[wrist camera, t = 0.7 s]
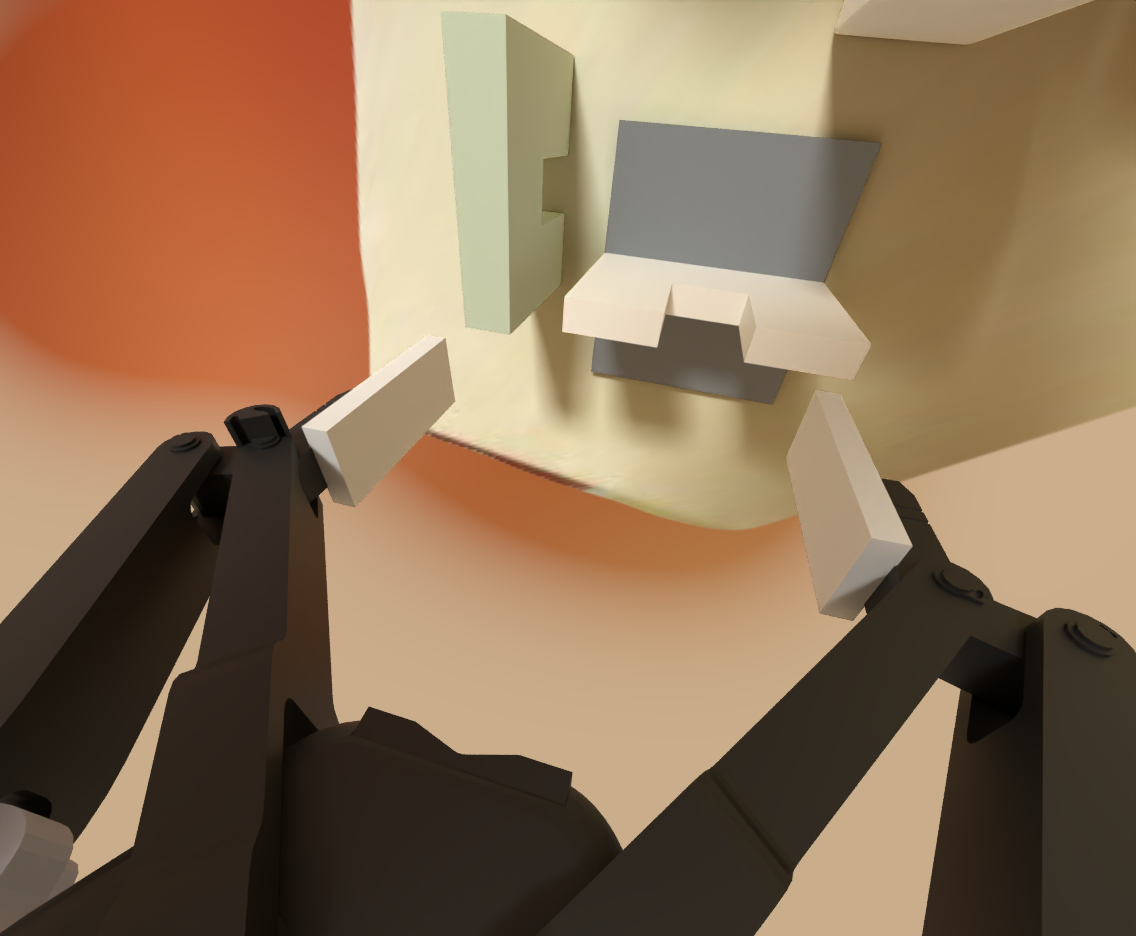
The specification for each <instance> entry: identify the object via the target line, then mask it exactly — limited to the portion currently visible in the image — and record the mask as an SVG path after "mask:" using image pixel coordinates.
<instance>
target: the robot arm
mask: <svg viewBox="0 0 1136 936" xmlns="http://www.w3.org/2000/svg"><path fill="white" fill-rule="evenodd" d="M454 402H455V398H454V392H453V385H452V378H451V372H450V365H449V359H448V352H447V346H446V339H445V338H443V337H436V336H429V335H427V336H425V337H424V338H422V339H421V340H420V341H418V342H417V343H416V344H414V345H413V346H412V347H410V348H409V349H407V350H406V351H405V352H403V353H402V354H401V355H399V356H398V357H396V358H395V359H394V360H392V361H391V362H390V363H388V364H387V365H385V366H384V367H383V368H381V369H380V370H379V371H377V372H376V373H374V374H373V375H372V376H370V377H369V378H368V379H366V380H365V381H364V382H362V383H361V384H359V385H358V386H357V387H355V388H354V389H351V390H349V391H346V392H344V393H342V394H339V395H337V396H335V397H334V398H333V399H331V400H330V401H328V402H327V403H326V405H323V406H322V407H320V408H319V409H317V412H316V411H314V412H313V413H312V414H310V415H309V416H307V417H306V418H305V419H303V420H302V421H300V422H299V423H298V424H296V425H295V426H293V427H292V428H291V429H288V426H287V424H286V422H285V420H284V418H283V415H282V413H281V411H280V409H279V408H278V407H276V406H274V405H265V404H264V405H254V406H250V407H246V408H243V409H241V410H238V411H236V412H234V413H232V414H231V415H229V416H228V417H227V418H226V420H225V421H224V424H225V425H226V427H227V429H228V431H229V433H230V434H231V436H232V438H233V440H234V442H235V443H236V445H237V446H224V447H219V445H218V444H217V442H216V440H215V439H214V437H213V435H212V434H211V433H208V432H190V433H183V434H181V435H176V436H174V437H173V438H171V439H169V440H167V441H165V442H164V443H162V444H161V445H160V446H159V447H157V449H156V450H155V451H154V452H153V453H152V454H151V455H150V456H149V458H148V459H147V460H146V461H145V462H144V463H143V464H142V465H141V467H140V468H139V469H138V470H137V471H136V472H135V473H134V474H133V476H132V477H131V478H130V479H129V480H128V481H127V482H126V483H125V484H124V486H123V487H122V488H121V489H120V490H119V491H118V492H117V493H116V495H115V496H114V497H113V498H112V499H111V500H110V501H109V503H108V504H107V505H106V506H105V507H104V508H103V509H102V510H101V511H100V513H99V514H98V515H97V516H96V517H95V518H94V519H93V520H92V521H91V523H90V524H89V525H88V526H87V527H86V528H85V529H84V531H83V532H82V533H81V534H80V535H79V536H78V537H77V538H76V540H75V541H74V542H73V543H72V544H71V545H70V546H69V547H68V548H67V550H66V551H65V552H64V553H63V554H62V555H61V556H60V557H59V559H58V560H57V561H56V562H55V563H54V564H53V565H52V566H51V568H50V569H49V570H48V571H47V572H46V573H45V574H44V575H43V576H42V578H41V579H40V580H39V581H38V582H37V583H36V584H35V585H34V587H33V588H32V589H31V590H30V591H29V592H28V593H27V594H26V596H25V597H24V598H23V599H22V600H21V601H20V602H19V603H18V605H17V606H16V607H15V608H14V609H13V610H12V611H11V612H10V614H9V615H8V616H7V617H6V618H5V619H4V620H3V621H2V623H1V624H0V936H754V935H755V934H756V932H757V931H758V930H759V928H760V927H761V925H762V924H763V923H764V921H765V920H766V919H767V917H768V916H769V915H770V913H771V912H772V911H773V909H774V908H775V907H776V905H777V904H778V902H779V901H780V899H781V898H782V897H783V895H784V894H785V892H786V891H787V889H788V887H789V885H790V883H791V881H792V877H793V871H794V869H795V867H796V866H797V864H798V863H799V861H800V860H801V859H802V857H803V856H804V854H805V853H806V852H807V851H808V849H809V848H810V847H811V845H812V844H813V843H814V841H815V840H816V839H817V837H818V836H819V835H820V833H821V832H822V831H823V830H824V828H825V827H826V825H827V824H828V823H829V821H830V820H831V819H832V818H833V816H834V815H835V814H836V812H837V811H838V809H839V808H840V807H841V806H842V804H843V803H844V802H845V800H846V799H847V798H848V796H849V795H850V794H851V792H852V791H853V790H854V789H855V787H856V786H857V785H858V783H859V782H860V781H861V779H862V778H863V777H864V775H865V774H866V773H867V771H868V770H869V769H870V767H871V766H872V765H873V763H874V762H875V761H876V759H877V758H878V757H879V755H880V754H881V753H882V751H883V750H884V749H885V748H886V746H887V745H888V744H889V742H890V741H891V740H892V738H893V737H894V736H895V734H896V733H897V732H898V730H899V729H900V728H901V726H902V725H903V724H904V722H905V721H906V720H907V718H908V717H909V716H910V715H911V713H912V712H913V710H914V709H915V708H916V706H917V705H918V704H919V703H920V701H921V700H922V699H923V697H924V696H925V695H926V693H927V692H928V691H929V689H930V688H931V687H932V685H933V684H934V683H935V681H936V680H937V679H938V678H940V679H942V680H944V681H946V682H948V683H950V684H952V685H954V686H956V687H958V688H960V689H961V691H960V697H959V703H958V709H957V716H956V722H955V728H954V735H953V741H952V748H951V754H950V760H949V767H948V773H947V780H946V786H945V792H944V799H943V806H942V811H941V818H940V824H939V831H938V837H937V844H936V850H935V856H934V863H933V869H932V876H931V882H930V888H929V895H928V901H927V908H926V914H925V920H924V926H923V927H924V928H923V933H922V936H1136V653H1135V651H1134V649H1133V648H1132V647H1131V646H1130V645H1129V644H1128V643H1127V642H1126V641H1125V640H1124V639H1123V638H1122V637H1121V636H1120V635H1119V634H1117V633H1116V632H1115V631H1114V630H1112V629H1111V628H1109V627H1108V626H1106V625H1105V624H1103V623H1101V622H1099V621H1097V620H1095V619H1093V618H1092V617H1090V616H1088V615H1085V614H1082V613H1079V612H1076V611H1074V610H1070V609H1063V608H1054V609H1051V610H1048V611H1046V612H1045V613H1043V614H1042V615H1041V616H1040V617H1038V618H1035V617H1032V616H1030V615H1027V614H1025V613H1022V612H1020V611H1018V610H1015V609H1013V608H1010V607H1008V606H1005V605H1003V604H1000V603H998V602H996V601H994V600H993V597H992V595H991V593H990V591H989V589H988V588H987V587H986V586H985V585H984V584H983V582H982V581H981V580H980V579H979V578H977V577H976V576H975V575H973V574H972V573H970V572H969V571H968V570H966V569H964V568H962V567H960V566H958V565H955V564H954V563H951V562H950V561H949V559H948V557H947V555H946V553H945V551H944V550H943V548H942V546H941V544H940V542H939V540H938V539H937V537H936V535H935V533H934V531H933V529H932V527H931V526H930V524H928V520H927V518H926V516H925V514H924V513H923V512H921V511H922V509H921V507H920V506H919V503H918V501H917V500H916V498H915V496H914V495H913V494H912V493H911V492H910V491H909V490H908V489H907V488H905V487H904V486H903V485H902V484H901V483H900V482H899V481H893V480H887V479H881V478H880V476H879V473H878V471H877V469H876V467H875V465H874V463H873V461H872V459H871V456H870V454H869V452H868V450H867V448H866V446H865V444H864V442H863V439H862V437H861V435H860V433H859V431H858V429H857V427H856V425H855V422H854V420H853V418H852V416H851V414H850V412H849V410H848V408H847V406H846V403H845V401H844V399H843V397H842V395H841V394H840V393H833V392H826V391H819V390H815V392H814V394H813V397H812V399H811V401H810V403H809V406H808V408H807V410H806V413H805V415H804V417H803V420H802V422H801V424H800V426H799V429H798V431H797V433H796V436H795V438H794V440H793V442H792V445H791V447H790V449H789V452H788V454H787V456H786V460H787V465H788V470H789V474H790V479H791V483H792V488H793V493H794V497H795V502H796V507H797V511H798V516H799V520H800V525H801V530H802V534H803V539H804V544H805V548H806V553H807V558H808V562H809V567H810V572H811V576H812V581H813V586H814V590H815V595H816V600H817V604H818V609H819V613H821V614H825V615H829V616H833V617H838V618H842V619H847V620H851V621H853V620H854V619H855V618H856V616H857V615H858V614H859V613H860V612H861V610H862V609H863V608H864V606H865V610H866V613H867V615H866V616H865V617H864V618H863V619H862V620H861V621H860V622H859V623H858V624H857V625H856V626H855V627H854V628H853V629H852V630H851V631H850V632H849V633H848V634H847V635H846V636H845V637H844V638H843V639H842V640H841V641H840V642H839V643H838V644H837V645H836V646H835V647H834V648H833V649H832V650H830V652H828V653H827V654H826V655H825V656H824V657H823V658H822V659H821V660H820V661H819V662H818V663H817V664H816V665H815V666H814V667H813V668H812V669H811V670H810V671H809V672H808V673H807V674H806V675H805V676H804V677H803V678H802V679H801V680H800V681H799V682H798V683H797V684H796V685H795V686H794V687H793V688H792V689H791V690H790V691H789V692H788V693H787V694H786V695H785V696H784V697H783V698H782V699H781V700H780V701H779V702H778V703H777V704H776V705H775V706H774V707H773V708H772V709H771V710H770V711H769V712H768V713H767V714H766V715H765V716H764V717H763V718H762V719H761V720H760V721H759V722H758V723H757V724H756V725H754V726H753V727H752V728H751V729H750V730H749V732H747V733H746V735H744V737H742V738H741V739H740V740H739V741H738V742H737V743H736V744H735V745H734V746H733V747H732V748H731V749H730V750H729V751H728V752H727V753H726V754H725V755H724V756H723V757H722V758H721V759H720V760H719V761H718V762H717V763H716V764H715V765H714V766H713V767H711V768H710V769H708V770H706V771H705V772H704V773H702V774H701V775H700V776H699V777H698V778H697V779H695V780H694V781H693V782H692V783H691V784H690V785H689V786H688V787H687V788H686V789H685V790H684V791H683V792H682V793H681V794H680V795H679V796H678V797H677V798H676V799H675V800H674V801H673V802H672V803H671V804H670V805H669V806H668V807H667V808H666V809H665V810H664V811H663V812H662V813H661V814H659V815H658V817H656V818H655V819H654V820H653V821H652V822H651V823H650V824H649V825H648V826H647V827H646V828H645V829H644V830H643V831H642V832H641V833H640V834H639V835H638V836H637V837H636V838H635V839H634V840H633V841H632V842H631V843H630V844H629V845H628V846H627V847H626V848H625V849H624V850H623V849H622V847H621V846H620V843H619V841H618V839H617V837H616V836H615V834H614V832H613V830H612V829H611V827H610V826H609V824H608V823H607V821H606V820H605V818H604V817H603V816H602V814H601V813H600V812H599V811H598V810H597V808H596V807H595V806H594V805H593V804H592V803H591V802H590V801H589V800H588V799H587V798H586V797H585V796H583V795H582V794H581V793H580V792H578V791H577V790H576V789H574V788H573V787H571V781H572V772H570V771H567V770H564V769H561V768H558V767H554V766H551V765H548V764H545V763H542V762H539V761H536V760H533V759H530V758H526V757H523V756H520V755H465V754H459V753H457V752H455V751H454V750H452V749H451V748H450V747H448V746H447V745H446V744H444V743H443V742H442V741H440V740H439V739H438V738H436V737H435V736H434V735H432V734H431V733H430V732H428V731H427V730H426V729H424V728H423V727H422V726H420V725H419V724H418V723H416V722H415V721H412V720H408V719H405V718H403V717H399V716H396V715H393V714H390V713H387V712H384V711H381V710H378V709H375V708H372V707H368V709H367V710H366V712H365V714H364V715H363V717H362V719H361V720H360V721H353V722H345V723H341V724H339V722H338V719H337V717H336V713H335V710H334V705H333V695H332V676H331V658H330V639H329V620H328V600H327V581H326V562H325V542H324V524H323V505H322V502H321V500H320V498H319V495H320V493H322V492H323V491H324V490H325V489H326V488H328V490H329V493H330V495H331V497H332V500H333V502H335V503H340V504H343V505H348V506H352V507H356V506H357V505H358V504H359V503H360V502H361V501H362V500H363V499H364V498H365V496H366V495H367V494H368V493H369V492H370V491H371V490H372V489H373V488H374V487H375V486H376V485H377V484H378V483H379V482H380V480H381V479H382V478H383V477H384V476H385V475H386V474H387V473H388V472H389V471H390V470H391V469H392V468H393V467H394V466H395V465H396V464H397V462H398V461H399V460H400V459H401V458H402V457H403V456H404V455H405V454H406V453H407V452H408V451H409V450H410V449H411V448H412V446H413V445H414V444H415V443H416V442H417V441H418V440H419V439H420V438H421V437H422V436H423V435H424V434H425V433H426V432H427V431H428V430H429V428H430V427H431V426H432V425H433V424H434V423H435V422H436V421H437V420H438V419H439V418H440V417H441V416H442V415H443V414H444V413H445V411H446V410H447V409H448V408H449V407H450V406H451V405H452V404H453V403H454ZM191 505H192V507H193V508H194V511H193V512H192V513H191ZM209 596H210V598H209ZM208 598H209V603H208V609H207V613H206V619H205V625H204V630H203V635H202V640H201V645H200V650H199V656H198V661H197V664H196V667H195V668H194V669H193V670H190V671H187V672H185V673H181V674H179V676H178V677H177V678H176V679H175V680H174V681H173V683H172V686H171V689H170V691H169V694H168V699H167V703H166V708H165V712H164V717H163V721H162V725H161V729H160V734H159V738H158V743H157V747H156V752H155V756H154V760H153V765H152V769H151V774H150V778H149V782H148V787H147V791H146V795H145V800H144V804H143V808H142V813H141V817H140V822H139V826H138V831H137V835H136V839H135V843H134V846H133V847H131V848H130V849H128V850H127V851H125V852H124V853H122V854H120V855H119V856H117V857H116V858H114V859H113V860H111V861H110V862H108V863H106V864H105V865H103V866H102V867H100V868H99V869H97V870H95V871H94V872H92V873H91V874H89V875H88V876H86V877H85V878H83V879H81V880H80V881H78V882H77V883H75V884H74V882H75V880H76V877H77V875H78V864H77V863H75V862H74V861H72V860H70V856H71V853H72V850H73V844H74V842H75V841H76V840H77V838H78V837H79V836H80V834H81V833H82V832H83V830H84V829H85V827H86V826H87V824H88V823H89V821H90V820H91V818H92V817H93V815H94V814H95V812H96V811H97V809H98V808H99V806H100V805H101V803H102V801H103V800H104V799H105V797H106V796H107V794H108V792H109V790H110V788H111V787H112V785H113V783H114V781H115V780H116V778H117V776H118V774H119V772H120V771H121V769H122V767H123V765H124V764H125V762H126V760H127V758H128V756H129V753H130V752H131V750H132V748H133V746H134V744H135V742H136V740H137V738H138V736H139V734H140V732H141V730H142V728H143V726H144V724H145V722H146V720H147V718H148V716H149V715H150V712H151V711H152V709H153V706H154V705H155V703H156V701H157V699H158V696H159V695H160V693H161V691H162V689H163V687H164V685H165V683H166V681H167V679H168V677H169V675H170V673H171V671H172V669H173V667H174V665H175V663H176V661H177V659H178V657H179V655H180V653H181V651H182V649H183V647H184V646H185V644H186V642H187V639H188V637H189V636H190V634H191V632H192V629H193V628H194V626H195V624H196V622H197V620H198V618H199V616H200V614H201V612H202V610H203V608H204V606H205V604H206V602H207V600H208Z"/></svg>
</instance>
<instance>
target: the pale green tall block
mask: <svg viewBox="0 0 1136 936" xmlns="http://www.w3.org/2000/svg"><path fill="white" fill-rule="evenodd" d="M441 20H442V33H443V46H444V59H445V72H446V84H447V97H448V110H449V123H450V136H451V149H452V161H453V174H454V187H455V200H456V213H457V225H458V238H459V251H460V264H461V277H462V290H463V302H464V315H465V327H468V328H473V329H479V330H485V331H491V332H497V333H502V334H508V335H510V334H511V333H512V332H513V331H514V330H515V329H516V328H517V327H518V326H519V325H520V324H521V323H522V322H523V321H524V320H525V319H526V318H527V317H528V316H529V315H530V314H531V313H532V312H534V311H535V310H536V309H537V308H538V307H539V306H540V305H541V304H542V303H543V302H544V301H545V300H546V299H547V298H548V297H549V296H550V295H551V294H552V293H553V292H554V291H555V290H556V289H557V288H558V287H559V286H560V285H561V272H562V255H563V238H564V221H565V213H557V212H549V211H542V187H543V159H546V158H554V157H561V156H568V152H569V134H570V117H571V100H572V82H573V65H574V55H573V54H571V53H569V52H568V51H566V50H564V49H563V48H561V47H559V46H558V45H556V44H554V43H553V42H551V41H549V40H548V39H546V38H544V37H543V36H541V35H539V34H538V33H536V32H534V31H533V30H531V29H529V28H528V27H526V26H524V25H523V24H521V23H519V22H518V21H516V20H514V19H513V18H511V17H509V16H508V15H506V14H489V13H470V12H450V11H441Z"/></svg>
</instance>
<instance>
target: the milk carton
mask: <svg viewBox="0 0 1136 936" xmlns="http://www.w3.org/2000/svg"><path fill="white" fill-rule="evenodd" d="M1091 1H1094V0H844V3H843V6H842V9H841V12H840V15H839V18H838V21H837V24H836V27H835V31H834V32H835V33H837V34H842V35H852V36H864V37H876V38H888V39H901V40H913V41H925V42H937V43H949V44H964V45H965V44H973V43H976V42H979V41H982V40H984V39H987V38H990V37H993V36H996V35H998V34H1001V33H1004V32H1007V31H1010V30H1012V29H1015V28H1018V27H1021V26H1024V25H1026V24H1029V23H1032V22H1035V21H1038V20H1040V19H1043V18H1046V17H1049V16H1052V15H1054V14H1057V13H1060V12H1063V11H1066V10H1069V9H1071V8H1074V7H1077V6H1080V5H1083V4H1085V3H1088V2H1091Z"/></svg>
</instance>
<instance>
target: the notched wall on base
mask: <svg viewBox="0 0 1136 936" xmlns="http://www.w3.org/2000/svg"><path fill="white" fill-rule="evenodd" d="M881 144H882V143H877V142H865V141H854V140H842V139H831V138H819V137H808V136H797V135H785V134H774V133H762V132H751V131H739V130H728V129H717V128H705V127H694V126H682V125H671V124H659V123H648V122H636V121H625V120H620V121H619V130H618V139H617V148H616V157H615V166H614V174H613V183H612V192H611V201H610V210H609V219H608V227H607V236H606V245H605V253H604V254H603V255H602V256H601V257H600V258H599V259H598V260H597V262H596V263H595V264H594V265H593V266H592V267H591V268H590V269H589V270H588V271H587V273H586V274H585V275H584V276H583V277H582V278H581V279H580V280H579V281H578V282H577V283H576V285H575V286H574V287H573V288H572V289H571V290H570V291H569V292H568V293H567V294H566V296H565V297H564V311H563V327H562V332H567V333H573V334H579V335H585V336H591V337H595V342H594V351H593V360H592V369H591V372H596V373H602V374H607V375H613V376H618V377H624V378H629V379H635V380H640V381H646V382H651V383H657V384H662V385H668V386H673V387H679V388H684V389H690V390H695V391H701V392H706V393H712V394H717V395H723V396H728V397H734V398H739V399H745V400H750V401H756V402H761V403H767V404H772V405H773V402H774V400H775V397H776V395H777V393H778V390H779V388H780V385H781V383H782V381H783V378H784V376H785V373H786V371H787V370H793V371H799V372H805V373H811V374H817V375H822V376H828V377H834V378H840V379H846V380H852V381H853V379H854V377H855V375H856V373H857V371H858V369H859V368H860V366H861V364H862V362H863V360H864V358H865V356H866V354H867V353H868V351H869V349H870V347H871V345H872V344H871V343H870V342H869V340H868V339H867V338H866V336H865V335H864V334H863V333H862V331H861V330H860V329H859V327H858V326H857V325H856V324H855V322H854V321H853V320H852V318H851V317H850V316H849V315H848V313H847V312H846V311H845V309H844V308H843V307H842V306H841V304H840V303H839V302H838V300H837V299H836V298H835V297H834V295H833V294H832V293H831V292H830V290H829V289H828V288H827V286H826V285H825V284H824V280H825V278H826V275H827V273H828V271H829V268H830V266H831V264H832V261H833V259H834V256H835V254H836V252H837V249H838V247H839V244H840V242H841V240H842V237H843V235H844V232H845V230H846V228H847V225H848V223H849V221H850V218H851V216H852V213H853V211H854V209H855V206H856V204H857V201H858V199H859V197H860V194H861V192H862V189H863V187H864V185H865V182H866V180H867V177H868V175H869V173H870V170H871V168H872V166H873V163H874V161H875V158H876V156H877V154H878V151H879V149H880V146H881Z"/></svg>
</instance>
